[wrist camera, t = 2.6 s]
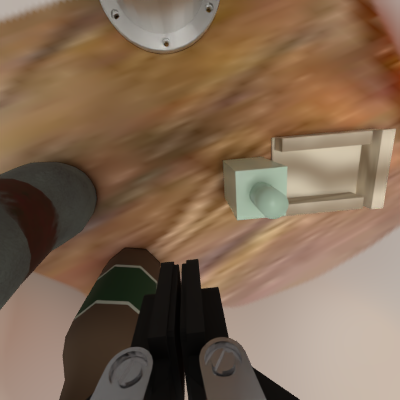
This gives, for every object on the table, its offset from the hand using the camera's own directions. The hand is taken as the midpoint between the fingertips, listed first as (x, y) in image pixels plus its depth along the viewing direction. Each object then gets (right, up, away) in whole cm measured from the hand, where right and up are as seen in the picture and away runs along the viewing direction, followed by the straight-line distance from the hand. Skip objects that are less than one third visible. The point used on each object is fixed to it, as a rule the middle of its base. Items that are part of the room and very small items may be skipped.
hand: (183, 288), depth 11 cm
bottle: (+6, +7, +20) cm, 22 cm away
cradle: (+17, +8, +20) cm, 27 cm away
